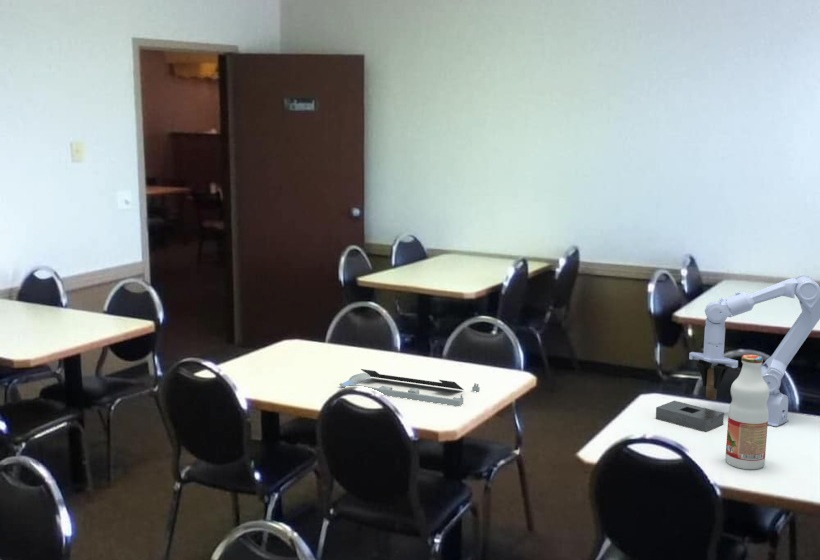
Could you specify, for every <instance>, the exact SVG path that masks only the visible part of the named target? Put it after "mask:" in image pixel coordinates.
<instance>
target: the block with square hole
mask: <svg viewBox="0 0 820 560" xmlns="http://www.w3.org/2000/svg"><path fill="white" fill-rule="evenodd" d="M724 416H725V412H723V411H717V410H713V409H710V408H705V407H701V406H697V405H694V404H690V403H685V402H682V401H677V400H672V401H670V402H669V401H668V402H666V403H665V404H661V405H659V406H656V408H655V419H656V420H659V421H663V422H667V423H671V424H674V425H678V426H682V427H685V428H689V429H692V430H696V431H699V432H703V433H706V432H709V431H712V430H714V429H716V428H719V427H720V426H723V425H724V418H725V417H724Z"/></svg>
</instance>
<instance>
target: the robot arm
mask: <svg viewBox="0 0 820 560" xmlns="http://www.w3.org/2000/svg"><path fill="white" fill-rule="evenodd" d="M780 297H786V298H790V299H795V297H796V298H797V300H798V301H799V305H800V308H801V312H800V314H799V315H798V316H797V318H796V319H795V321H794V323H793V324H792V326H791V327H790V329H789V330H788V331H787V333H786V334H785V336H784V337H783V339H782V340H781V341H780V343H779V344H778V346H777V347H776V349H775V350H774V352H773V353H772V354H771V356H770V357H768V358H767V359H766V360H765V362H763V363H762V365H761V372H762V376H763V379H764V381H765V382H766V384H767V385H768V387H769V398H768V400H767V404H766V405H767V408H768V426H772V427H778V426H781V425H782V424H783V425H784V424H785V423H787V422H789V419H788V414H789V397H788V395H786V394H783V393H782V392H780V387H781V385H782V384H781V383H782V379H783V377H784V375H785V374H786V370H787V368H788V366H789V364H790V362H791V361H792V360H793V358H794V357H795V356H796V354H797V353H798V351H799V349H800V348H801V346H803V344H804V342H805V341H807V340H806V339H807V338H808V337H809V335H810V334H811V332H812V331H813V330H814V329H815V326H817V324H818V323H819V321H820V285H819V284H818V282H817V281H815V280H814V279H813V278H812V277H810V276H809V275H805V274H804V275H799V276H796V277H791V278H788V279H786V280H785V279H784V280H783V281H780V282H778V283H775V284H772V285H770V286H768V287H765V288H762V289H759V290H757V291H755V292H752V293H748V292H746V291H743V292H740V291H739V290H738V291H735V294H734V295H730V296H728V297H725V298H723V297H721V298H719V300H718V301H717V300H714V301H713V300H712V301H710V302H709V303H708V304H707V305H706V307H705V309H704V313H705V316H706V318H705V321H704V322H705V326H704V337H703V339H704V340H703V352H695V351H691V352H689V356H688V357H689V360H696V361H698V362H697V363H696V367H697V369H698V371H699V374H700V376H701V380H702V386H703V387H706V382H707V368H709V367H712V365H713V364H715V365H713V367H712V368H714V374H715V381H714V388H715V389H717V390H719V389H720V388H721V386H722V382H723V379H724V377H725V374H726V373H727V372H728V370H729V369H730V368H732V369H736V368H738V367H739V360H736V359H733V358H729V357H726V356H724V355H725V339H726V320H727V319H728V318H732V317H736V316H738V315H742V314H744V313H748V312H750V311H752V310H753V308H754V306H755V305H756V304H761V303H763V302H767V301H771V300H773V299H777V298H780Z"/></svg>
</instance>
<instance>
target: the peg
mask: <svg viewBox="0 0 820 560" xmlns="http://www.w3.org/2000/svg"><path fill="white" fill-rule="evenodd" d="M714 381H715V374H714V368H713V367H712V366H711V367H709V368H707V382H706V386H705V399H706V400H717V393H718V392H717V390H718V389H715V388H714Z"/></svg>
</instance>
